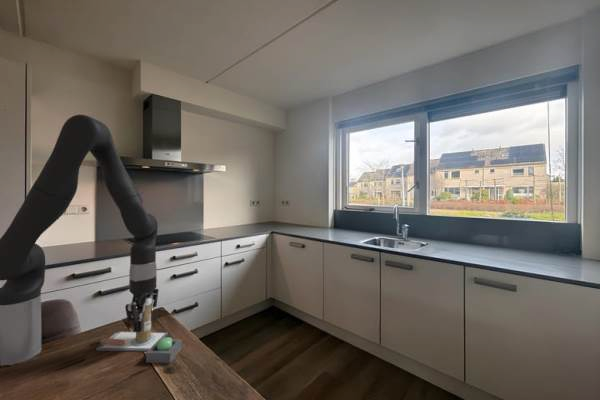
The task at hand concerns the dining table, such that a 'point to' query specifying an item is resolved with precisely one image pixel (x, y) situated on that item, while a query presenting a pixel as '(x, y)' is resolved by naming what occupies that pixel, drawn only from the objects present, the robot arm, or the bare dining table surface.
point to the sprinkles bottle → (145, 324)
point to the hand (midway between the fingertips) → (143, 326)
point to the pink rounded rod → (112, 341)
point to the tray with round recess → (132, 342)
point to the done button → (164, 344)
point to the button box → (163, 353)
